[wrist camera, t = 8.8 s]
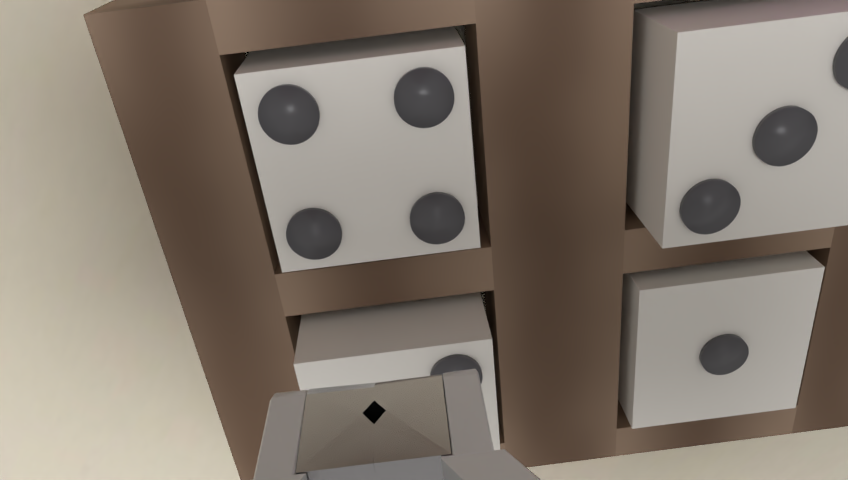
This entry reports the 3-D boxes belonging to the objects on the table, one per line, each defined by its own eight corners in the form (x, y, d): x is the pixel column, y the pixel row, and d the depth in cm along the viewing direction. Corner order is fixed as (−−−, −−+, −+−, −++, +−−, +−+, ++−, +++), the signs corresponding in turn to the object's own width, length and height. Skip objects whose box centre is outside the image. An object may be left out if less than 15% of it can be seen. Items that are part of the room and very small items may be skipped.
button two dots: (477, 282, 23) (492, 342, 20) (488, 413, 26) (503, 483, 23) (303, 304, 23) (292, 368, 20) (333, 433, 26) (328, 506, 23)
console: (934, -104, 20) (1020, -102, 17) (825, 372, 28) (871, 422, 26) (122, -4, 20) (83, 14, 17) (260, 444, 28) (248, 503, 26)
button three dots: (842, -17, 19) (930, 3, 16) (807, 177, 22) (876, 225, 19) (632, 9, 19) (681, 34, 16) (625, 200, 22) (664, 252, 19)
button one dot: (772, 222, 24) (828, 270, 21) (752, 353, 27) (798, 411, 24) (609, 243, 24) (641, 293, 21) (605, 371, 27) (633, 432, 24)
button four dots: (452, 22, 20) (465, 47, 17) (467, 202, 23) (481, 250, 20) (253, 47, 20) (232, 76, 17) (293, 224, 23) (281, 276, 20)
